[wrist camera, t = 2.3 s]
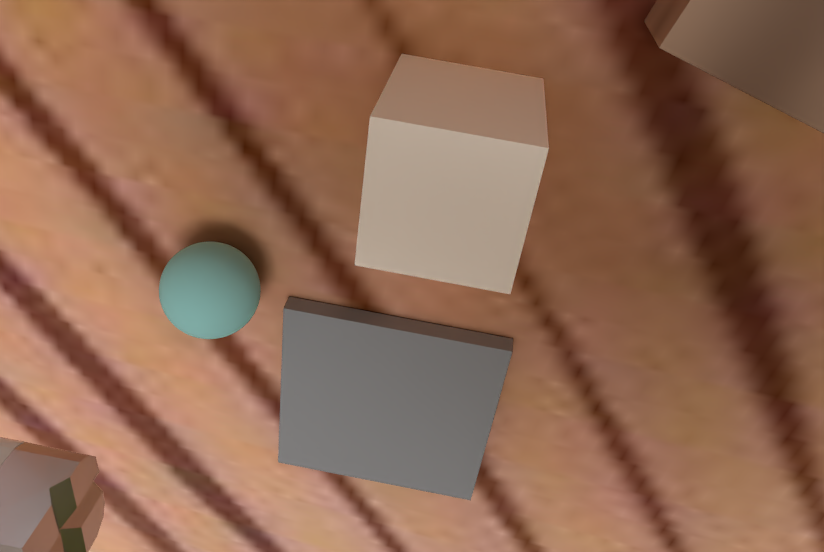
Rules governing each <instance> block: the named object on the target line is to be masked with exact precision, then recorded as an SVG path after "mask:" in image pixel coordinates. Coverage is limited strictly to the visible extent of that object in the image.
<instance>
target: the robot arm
mask: <svg viewBox="0 0 824 552" xmlns="http://www.w3.org/2000/svg"><path fill="white" fill-rule="evenodd" d="M98 473H99V468H98V464H97V460H96V457H95V456H90V455H86V454H81V453H76V452H71V451H66V450H61V449H56V448H52V447H47V446H42V445H37V444H32V443H28V442H23V441H18V440H13V439H7V438H2V437H0V552H88V551H89V550H90V548H91V546H92V544H93V542H94V540H95V539H96V537H97V534H98V531H99V528H100V525H101V522H102V519H103V516H104V504H105V501H104V495H103V491H102V490H101V489H100V488H99V487H98V486H97V485H96V484H95V483H94V482H93V481H94V479H95V478H96V476H97V474H98Z"/></svg>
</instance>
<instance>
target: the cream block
mask: <svg viewBox="0 0 824 552" xmlns="http://www.w3.org/2000/svg"><path fill="white" fill-rule="evenodd" d="M548 150H549V142H548V129H547V116H546V104H545V91H544V78H538V77H532V76H527V75H521V74H515V73H510V72H504V71H498V70H492V69H487V68H481V67H475V66H470V65H464V64H458V63H453V62H447V61H441V60H435V59H430V58H424V57H418V56H413V55H407V54H401V56H400V58H399V60H398V62H397V64H396V66H395V68H394V70H393V72H392V74H391V76H390V78H389V79H388V81H387V83H386V85H385V87H384V89H383V91H382V93H381V95H380V97H379V99H378V101H377V103H376V105H375V107H374V109H373V111H372V113H371V115H370V121H369V130H368V140H367V150H366V159H365V169H364V179H363V188H362V198H361V208H360V217H359V227H358V236H357V246H356V256H355V265H356V266H361V267H366V268H372V269H377V270H383V271H388V272H393V273H399V274H404V275H409V276H415V277H420V278H425V279H431V280H436V281H441V282H447V283H452V284H458V285H463V286H468V287H474V288H479V289H484V290H490V291H495V292H500V293H506V294H510V293H511V290H512V286H513V282H514V278H515V275H516V271H517V267H518V263H519V260H520V256H521V252H522V248H523V244H524V241H525V237H526V233H527V229H528V226H529V222H530V218H531V214H532V210H533V207H534V203H535V199H536V195H537V192H538V188H539V184H540V180H541V176H542V173H543V169H544V165H545V161H546V158H547V154H548Z"/></svg>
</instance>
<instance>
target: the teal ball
mask: <svg viewBox="0 0 824 552" xmlns="http://www.w3.org/2000/svg"><path fill="white" fill-rule="evenodd" d="M260 292H261V291H260V281H259V277H258V274H257V271H256V269H255V267H254V265H253V264H252V262H251V261H250V260H249V259H248V257H247V256H246V255H244V254H243V253H242V252H241V251H239V250H238V249H236V248H234V247H232V246H230V245H228V244H224V243H220V242H209V241H208V242H200V243H196V244H193V245H190V246H188V247H186V248H184V249H182V250H181V251H179V252H178V253H177V254H176V255H174V256H173V257H172V258H171V260H170V261H169V262H168V264H167V265H166V267H165V269H164V270H163V273H162V276H161V279H160V285H159V297H160V302H161V305H162V308H163V311H164V313H165V314H166V316H167V317H168V319H169V320H170V321H171V323H172V324H173V325H174V326H176V327H177V328H178V329H179V330H181V331H182V332H184V333H186V334H188V335H190V336H193V337H197V338H203V339H217V338H222V337H226V336H228V335H231V334H233V333H235V332H237V331H238V330H240V329H241V328H242V327H244V326H245V325H246V324H247V323H248V322H249V320H250V319H251V318H252V316H253V315H254V313H255V311H256V309H257V306H258V304H259V300H260Z"/></svg>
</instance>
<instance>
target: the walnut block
mask: <svg viewBox="0 0 824 552" xmlns="http://www.w3.org/2000/svg"><path fill="white" fill-rule="evenodd" d="M644 22H645V24H646V26H647V27H648V29H649V31H650V33H651V35H652V36H653V38H654V40H655V42H656V43H657V45H658V47H659V48H660V49H662V50H664V51H666V52H668V53H670V54H672V55H674V56H676V57H678V58H680V59H682V60H683V61H685V62H687V63H689V64H691V65H693V66H695V67H697V68H699V69H701V70H703V71H705V72H707V73H708V74H710V75H712V76H714V77H716V78H718V79H720V80H722V81H724V82H726V83H728V84H730V85H732V86H733V87H735V88H737V89H739V90H741V91H743V92H745V93H747V94H749V95H751V96H753V97H755V98H757V99H759V100H760V101H762V102H764V103H766V104H768V105H770V106H772V107H774V108H776V109H778V110H780V111H782V112H784V113H785V114H787V115H789V116H791V117H793V118H795V119H797V120H799V121H801V122H803V123H805V124H807V125H809V126H811V127H812V128H814V129H816V130H818V131H820V132H822V133H824V0H657V1H656V2H655V4H654V6H653V7H652V9H651V10H650V12H649V14H648V15H647V17H646V18H645V20H644Z"/></svg>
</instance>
